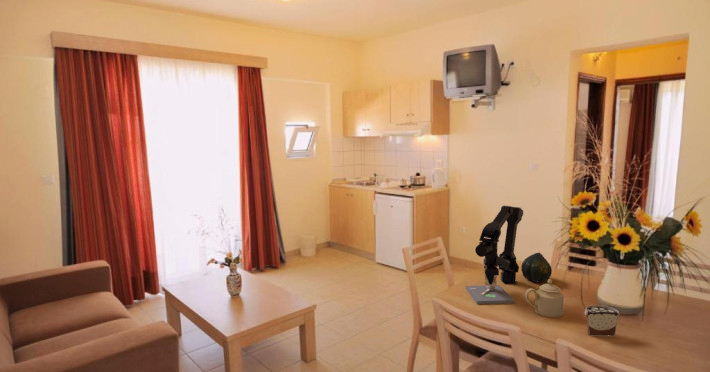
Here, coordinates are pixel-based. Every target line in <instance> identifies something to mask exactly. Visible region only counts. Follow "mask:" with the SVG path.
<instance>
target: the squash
mask: <svg viewBox="0 0 710 372" xmlns="http://www.w3.org/2000/svg"><path fill="white" fill-rule="evenodd" d="M520 268H521V269H520V270H521V273H522V276H523V278H525V279H528V280H532V282H533V283H539V282H540V283H543V282H545V281H548V280H549V279H551V276H552V271H553V270H552V269H553V268H552V266H551V265H550V263H549V262H548V260H547V259H546V258H545V257H544V255H543V254H542V253H541V252H536V253H535V252H534V253H533V254H531V255H529V256H527V257H526V258H524V260H523V261H522V263H521V266H520Z"/></svg>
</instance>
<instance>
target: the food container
mask: <svg viewBox="0 0 710 372" xmlns="http://www.w3.org/2000/svg"><path fill="white" fill-rule="evenodd" d="M584 316H586V325H587V329H586V330H587V335H588V336H589V337H590V336H591V337H615V336H616V331H617V325H618V320H619V317H621V313H620V310H618V309H616V308H614V307H610V306H607V305H600V304H592V305H588V306H587V307H585V309H584ZM608 335H609V336H608Z"/></svg>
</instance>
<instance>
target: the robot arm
mask: <svg viewBox="0 0 710 372" xmlns="http://www.w3.org/2000/svg"><path fill="white" fill-rule="evenodd" d="M523 216H524V210H523V209H522V207H519V206H510V205H501V208H500V210H499V212H498V213H497V215H496V216H495V217H494V219H493V221H491V222H489V223H487V224H486V225H485V226H484V227H483V228H482V230H481V234H480V236H479V244H478V245H477V246H476V247H475V249H474V250H475V253H476V255H477V256H478V257H480V258H483V257H484V258H483V265H484V266H483V269H484V276H485V275H486V277H487V279H488V282H489V284H490V285H492V282H493V279H494V276H500V279H499V280H500V281H501V282H502V283H503V284H504V285H506V284H507V285H508V284H510V285H511V284H512V285H514V284H518V283H517V281H516V280H517V279H516V278H517V273H519V270H520V266H519V264H518V263H517V256H516V254H515V245H516V238H517V229H518V224H520V222H521V221H522V219H523ZM505 223H507V224H506V225H507V226H506V232H505V241H504V248H503V251H502V252H501V253H499V255H498V242H500V240H499V239H500V238H501V237H500V236H501V234H502V227H503V226H504V224H505ZM500 271H501V272H500Z"/></svg>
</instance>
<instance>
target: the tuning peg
mask: <svg viewBox="0 0 710 372" xmlns="http://www.w3.org/2000/svg"><path fill="white" fill-rule="evenodd" d="M497 276H498V275H495V276H494V279H493V282H492V285H490V284H489V282H488V279H487V277H486V275H485V274H484V285H486V289H487V290H486V291H485V292H483V293H482V295H484V294H485V293H487V292H488V291H494V290H495V287H496V285H497Z"/></svg>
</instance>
